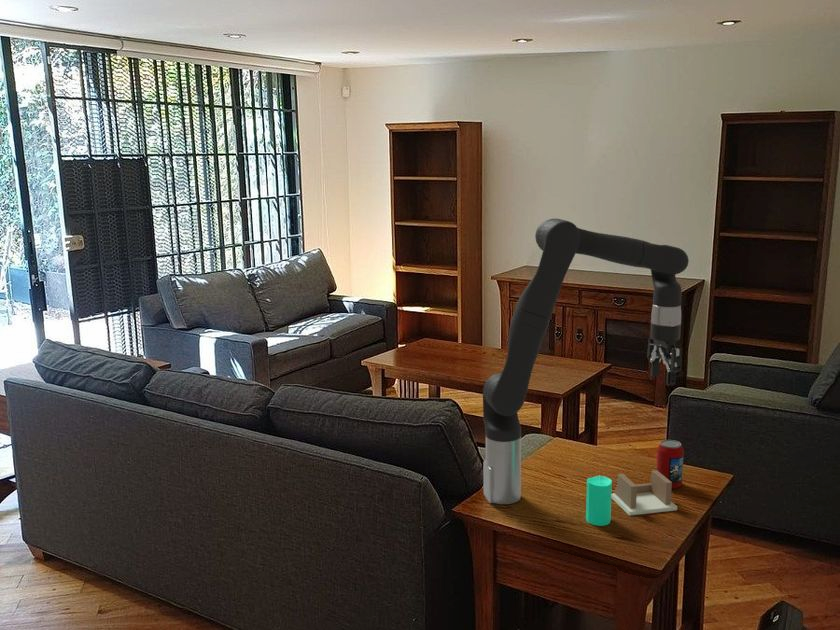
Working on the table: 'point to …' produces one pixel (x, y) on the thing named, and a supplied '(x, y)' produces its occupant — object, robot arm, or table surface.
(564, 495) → the table surface
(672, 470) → the beverage can
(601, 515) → the candle
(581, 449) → the table surface
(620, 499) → the holder
